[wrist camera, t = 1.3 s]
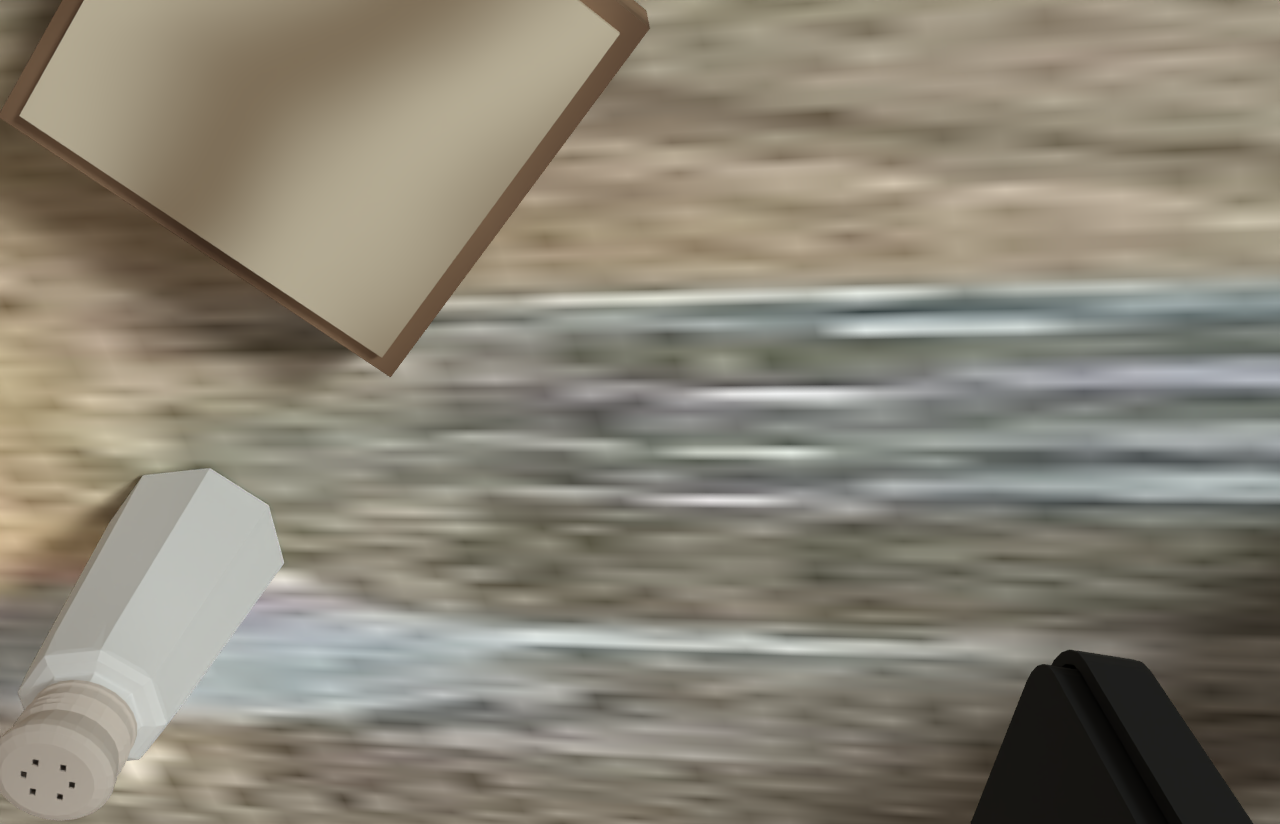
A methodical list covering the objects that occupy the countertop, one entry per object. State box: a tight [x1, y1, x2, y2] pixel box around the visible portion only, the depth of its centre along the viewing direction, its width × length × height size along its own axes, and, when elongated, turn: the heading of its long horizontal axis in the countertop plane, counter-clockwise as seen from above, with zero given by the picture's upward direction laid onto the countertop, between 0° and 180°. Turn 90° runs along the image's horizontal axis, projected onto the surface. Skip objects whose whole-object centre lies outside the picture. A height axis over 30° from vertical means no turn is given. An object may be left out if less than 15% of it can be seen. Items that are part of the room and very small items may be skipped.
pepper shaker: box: [0, 468, 284, 820], centre depth 33 cm, size 5×5×11 cm
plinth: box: [0, 0, 650, 377], centre depth 30 cm, size 11×11×4 cm
